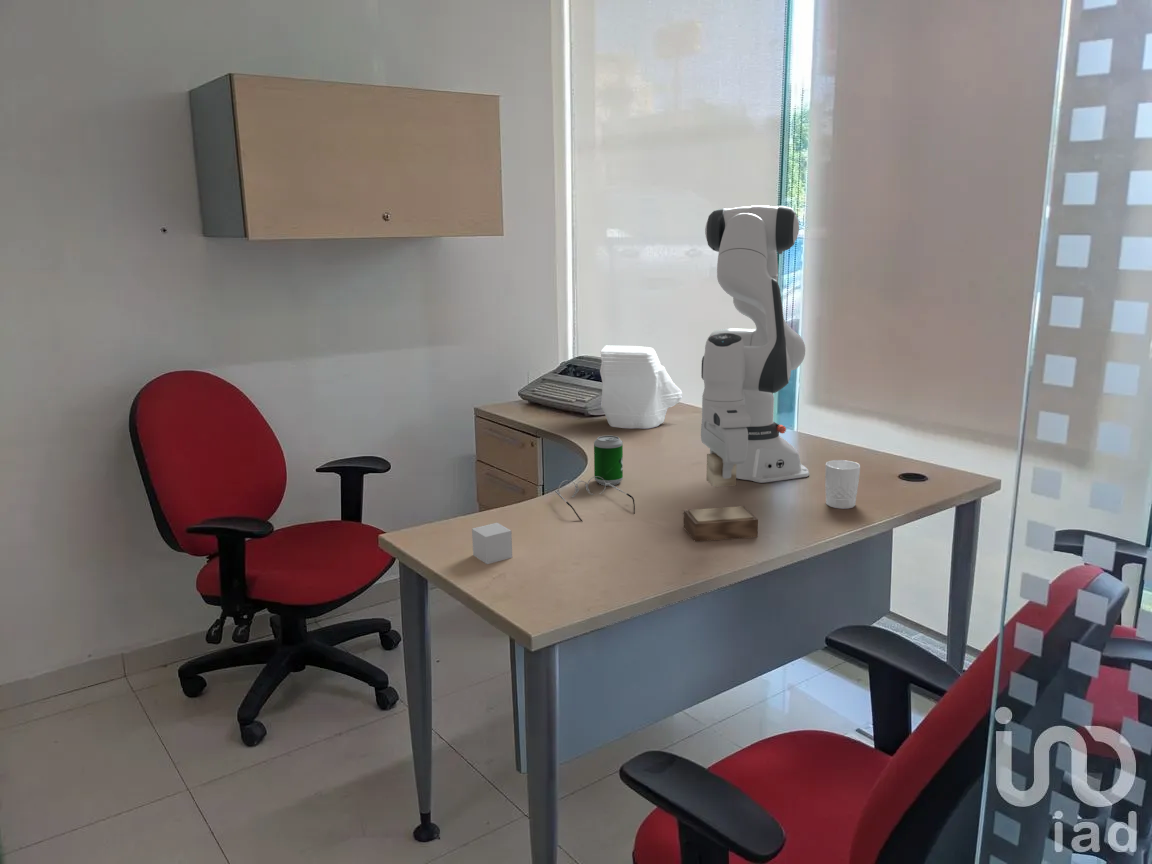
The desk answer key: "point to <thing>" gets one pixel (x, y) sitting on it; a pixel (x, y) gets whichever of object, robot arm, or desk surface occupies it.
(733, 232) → the robot arm
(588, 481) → the eyeglasses
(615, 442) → the soda can
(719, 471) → the block
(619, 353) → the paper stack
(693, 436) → the desk surface
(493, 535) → the grey cube
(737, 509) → the plinth
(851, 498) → the white cup
